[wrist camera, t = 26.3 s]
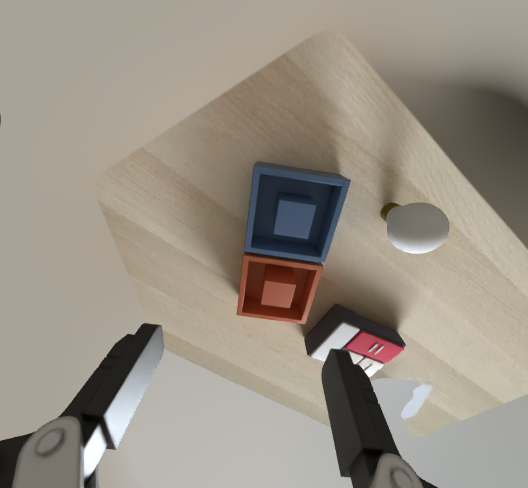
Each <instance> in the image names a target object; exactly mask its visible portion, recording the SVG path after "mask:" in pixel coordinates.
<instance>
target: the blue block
mask: <svg viewBox="0 0 528 488" xmlns="http://www.w3.org/2000/svg"><path fill="white" fill-rule="evenodd" d="M315 209H316V204H315V203H314V201H313V200H312V198H311V196H306V195H299V194H292V193H286V192H278V197H277V203H276V209H275V214H274V220H273V234H278V235H285V236H292V237H298V238H305V239H308V236H309V232H310V228H311V224H312V220H313V216H314V212H315Z"/></svg>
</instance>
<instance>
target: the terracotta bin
mask: <svg viewBox="0 0 528 488" xmlns="http://www.w3.org/2000/svg"><path fill="white" fill-rule="evenodd" d="M266 264H268V265H275V266H282V267H289V268H293V271H294V278H295V284H296V286H295V289H294V293H293V297H292V301H291V305H290V308H285V307H278V306H270V305H263V304H261V294H262V284H263V278H264V272H265V266H266ZM322 270H323V264H322V262H314V261H308V260H301V259H294V258H287V257H280V256H273V255H266V254H259V253H252V252H244V256H243V264H242V273H241V281H240V290H239V298H238V307H237V315H240V316H247V317H255V318H262V319H270V320H277V321H285V322H292V323H299V324H300V323H301V324H305V323H306V320H307V317H308V313H309V310H310V307H311V304H312V301H313V298H314V295H315V292H316V288H317V285H318V282H319V279H320V276H321V273H322Z"/></svg>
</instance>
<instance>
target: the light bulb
mask: <svg viewBox="0 0 528 488" xmlns="http://www.w3.org/2000/svg"><path fill="white" fill-rule="evenodd" d="M381 217H382V218H383V219H384V220H385V221H386V222H387V233H388V237H389V239H390V241H391V242H392V243H393V244H394V245H395V246H396V247H397V248H399V249H401V250H402V251H405V252H409V253H425V252H429V251H432V250H434V249H436V248H437V247H439V246H440V245H441V244H442V243H443V242H444V241H445V239H446V238H447V236H448V233H449V221H448V218H447V217H446V215H445V214H444V212H443V211H442V210H440V209H439V208H437V207H436V206H434V205H431V204H427V203H411V204H407V205H405V206H401V205H398V204H396V203H389V204H387V205H385V206H384V207H383V208H382V210H381Z"/></svg>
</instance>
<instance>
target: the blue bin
mask: <svg viewBox="0 0 528 488" xmlns="http://www.w3.org/2000/svg"><path fill="white" fill-rule="evenodd" d="M350 182H351V181H350V180H349V179H347V178H345V177H344V176H342V175H340V174H334V173H327V172H321V171H315V170H308V169H302V168H296V167H289V166H283V165H277V164H270V163H264V162H258V161H257V162H256V163H255V165H254V171H253V179H252V188H251V196H250V205H249V213H248V222H247V230H246V239H245V247H244V251H245V252H252V253H259V254H266V255H273V256H280V257H287V258H294V259H301V260H308V261H314V262H322V263H325V260H326V257H327V254H328V251H329V248H330V244H331V241H332V238H333V235H334V232H335V229H336V226H337V223H338V219H339V216H340V213H341V210H342V207H343V204H344V201H345V198H346V194H347V191H348V188H349V185H350ZM278 192H286V193H292V194H299V195H306V196H311V198H312V200H313V201H314V203H315V204H316V209H315V212H314V216H313V220H312V224H311V228H310V232H309V236H308V239H305V238H298V237H292V236H285V235H278V234H273V220H274V214H275V209H276V203H277V197H278Z"/></svg>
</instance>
